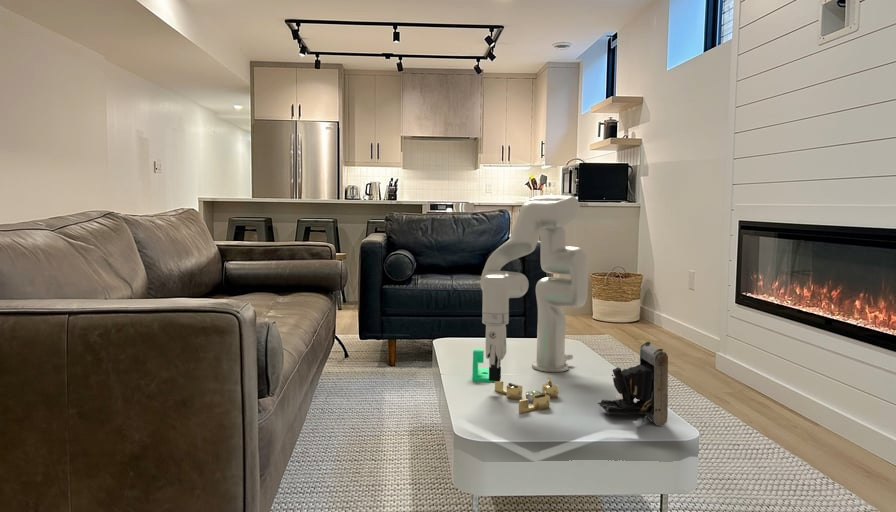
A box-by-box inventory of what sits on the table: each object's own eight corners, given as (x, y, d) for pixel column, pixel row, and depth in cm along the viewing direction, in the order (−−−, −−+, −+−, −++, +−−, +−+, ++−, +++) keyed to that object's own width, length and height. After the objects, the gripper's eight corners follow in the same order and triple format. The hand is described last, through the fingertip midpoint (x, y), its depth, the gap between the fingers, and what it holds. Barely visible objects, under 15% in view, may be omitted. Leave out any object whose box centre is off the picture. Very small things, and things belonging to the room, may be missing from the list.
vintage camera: (596, 415, 155) (596, 343, 153) (652, 413, 156) (653, 340, 155) (609, 430, 146) (609, 352, 144) (668, 426, 147) (670, 350, 145)
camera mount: (496, 387, 178) (497, 354, 178) (472, 386, 179) (472, 353, 178) (496, 376, 190) (497, 345, 190) (473, 375, 191) (473, 344, 190)
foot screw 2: (540, 403, 159) (541, 390, 158) (552, 407, 155) (553, 395, 155) (513, 410, 153) (514, 397, 152) (525, 415, 149) (526, 402, 149)
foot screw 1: (525, 397, 163) (525, 385, 163) (513, 400, 161) (514, 388, 161) (501, 388, 172) (501, 377, 171) (490, 391, 169) (490, 379, 169)
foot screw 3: (558, 399, 163) (558, 386, 163) (542, 398, 163) (542, 386, 163) (556, 388, 173) (556, 376, 173) (541, 387, 173) (541, 376, 173)
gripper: (505, 324, 158) (504, 389, 160) (511, 313, 172) (510, 373, 174) (478, 322, 159) (477, 387, 161) (486, 312, 174) (486, 371, 176)
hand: (494, 380), depth 168 cm, fingers closed
